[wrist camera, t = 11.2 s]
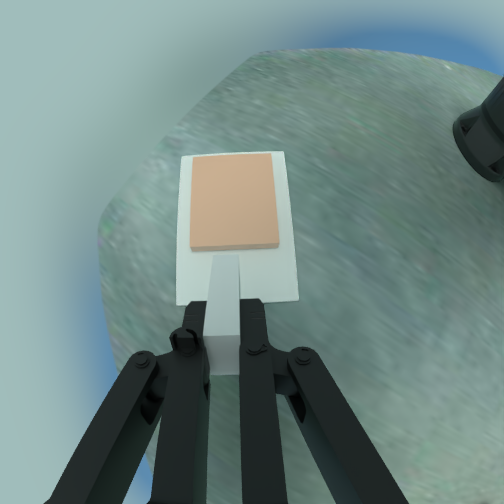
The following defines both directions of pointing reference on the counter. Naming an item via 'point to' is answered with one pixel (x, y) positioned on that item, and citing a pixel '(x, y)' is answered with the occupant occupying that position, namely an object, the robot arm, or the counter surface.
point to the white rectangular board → (250, 260)
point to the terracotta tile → (233, 203)
